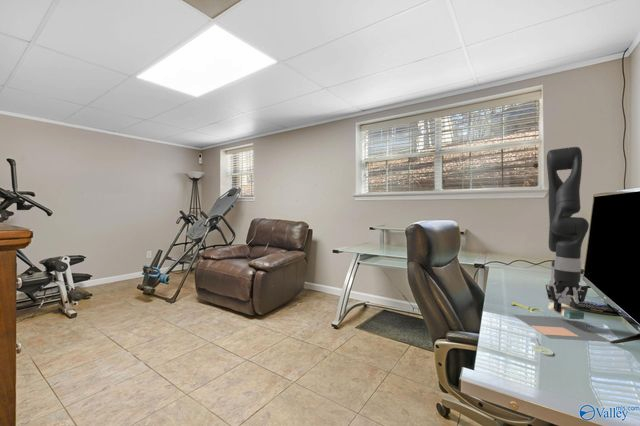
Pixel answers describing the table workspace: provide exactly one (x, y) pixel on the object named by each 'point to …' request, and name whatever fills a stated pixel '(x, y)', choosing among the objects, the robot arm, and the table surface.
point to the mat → (560, 328)
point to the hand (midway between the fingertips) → (565, 311)
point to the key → (525, 307)
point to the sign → (542, 350)
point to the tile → (568, 311)
